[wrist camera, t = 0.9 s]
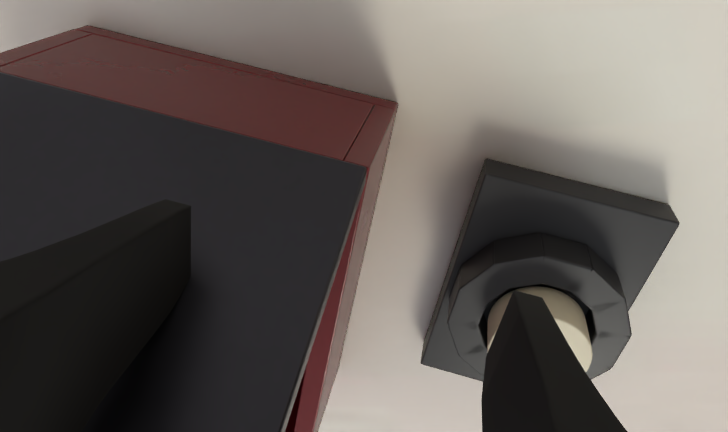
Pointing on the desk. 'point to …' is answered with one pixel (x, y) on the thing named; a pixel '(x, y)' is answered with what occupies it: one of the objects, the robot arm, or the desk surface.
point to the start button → (563, 313)
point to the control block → (545, 261)
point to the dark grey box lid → (208, 247)
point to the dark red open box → (242, 116)
